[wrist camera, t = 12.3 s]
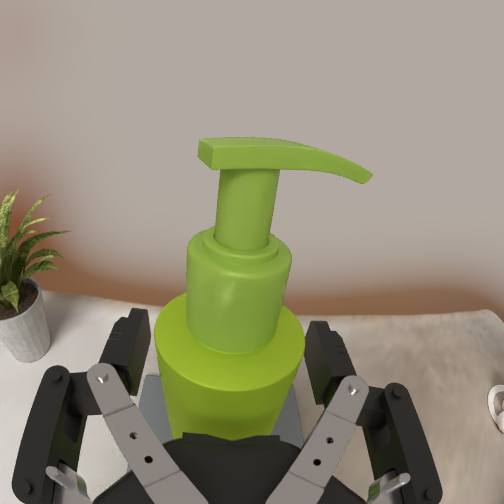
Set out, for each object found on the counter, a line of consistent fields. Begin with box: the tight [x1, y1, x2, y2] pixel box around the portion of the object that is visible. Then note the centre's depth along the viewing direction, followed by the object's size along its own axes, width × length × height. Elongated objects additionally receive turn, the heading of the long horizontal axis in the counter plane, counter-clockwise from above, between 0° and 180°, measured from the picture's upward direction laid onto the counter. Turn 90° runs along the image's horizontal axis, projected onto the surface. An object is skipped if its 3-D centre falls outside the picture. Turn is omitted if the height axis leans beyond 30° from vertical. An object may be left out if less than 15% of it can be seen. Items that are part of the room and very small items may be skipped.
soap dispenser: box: [154, 137, 373, 440], centre depth 12 cm, size 6×7×20 cm
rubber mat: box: [127, 375, 304, 472], centre depth 17 cm, size 13×13×1 cm
